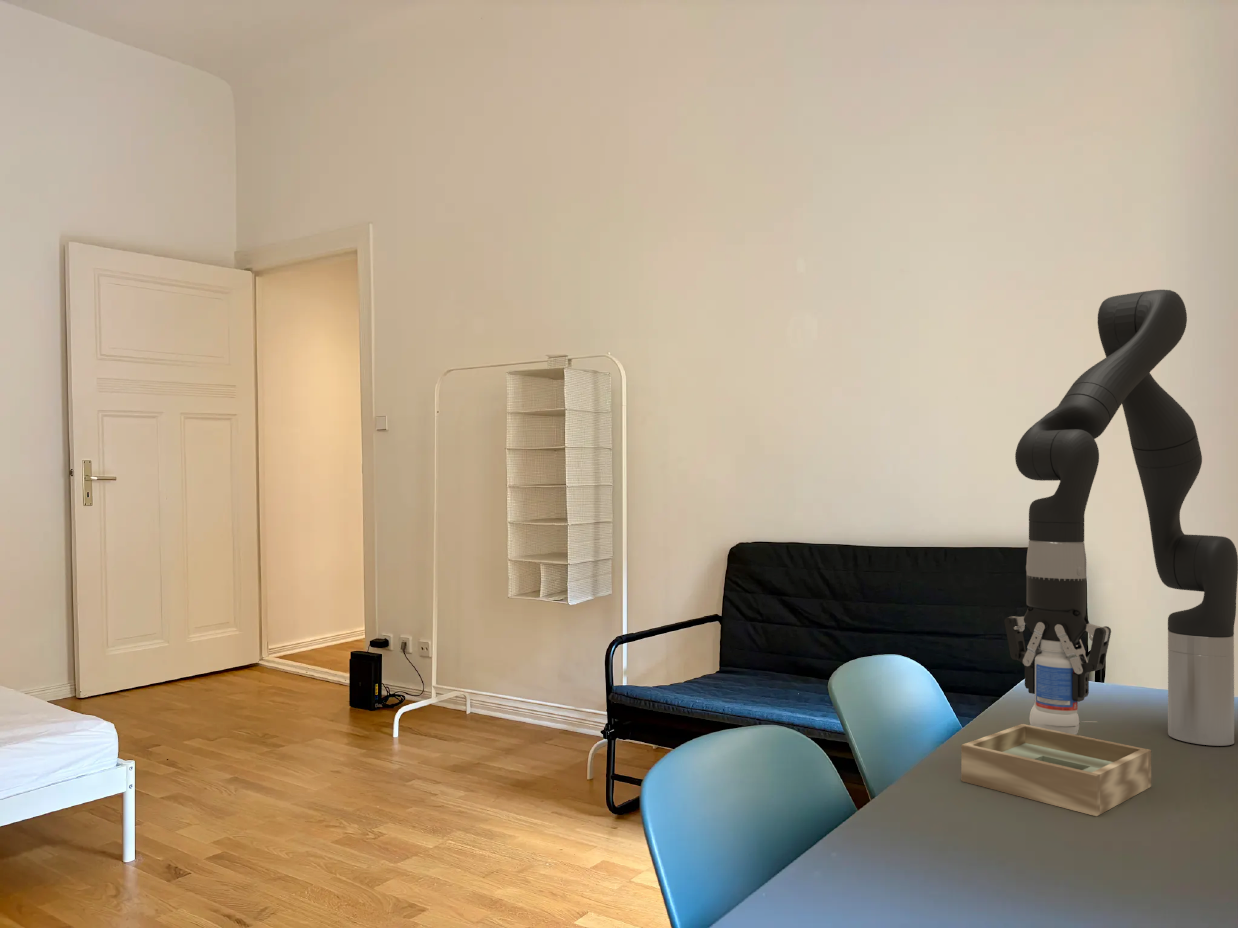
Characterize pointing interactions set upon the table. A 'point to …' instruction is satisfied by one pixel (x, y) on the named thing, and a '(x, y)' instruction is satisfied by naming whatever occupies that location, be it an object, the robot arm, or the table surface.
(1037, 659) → the pill bottle
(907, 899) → the table surface
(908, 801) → the table surface
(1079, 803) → the bore box
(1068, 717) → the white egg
